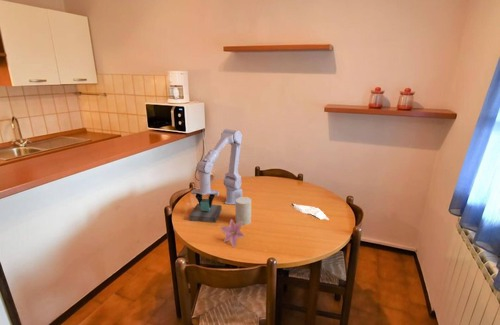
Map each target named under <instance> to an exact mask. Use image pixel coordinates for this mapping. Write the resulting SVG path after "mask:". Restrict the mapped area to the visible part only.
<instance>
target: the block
mask: <svg viewBox="0 0 500 325" xmlns="http://www.w3.org/2000/svg"><path fill="white" fill-rule="evenodd" d="M200 205H201V211H209V210H210V209H211V208H209V198H202V201H201V202H200Z"/></svg>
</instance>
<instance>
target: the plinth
mask: <svg viewBox="0 0 500 325" xmlns="http://www.w3.org/2000/svg"><path fill="white" fill-rule="evenodd" d="M222 211H223V210H222V204H221V205H220V204H219V205H218V204H212V206H211V209H210V210H209V211H201V207H200V205H199V203H196V205H195V206H194V208H193V209H192V211H191V212H190V214H189V215H188V216H189V218H188V219H189V221H191V222H202V223H203V222H204V223H215V224H216V222H217V220H218V219H219V216H220V214H221V212H222Z"/></svg>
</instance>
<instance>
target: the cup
mask: <svg viewBox="0 0 500 325" xmlns="http://www.w3.org/2000/svg"><path fill="white" fill-rule="evenodd" d="M241 221H243V224H242V226H247V225H249V224H251V223H252V198H250V197H248V196H242V197H239V198H237V199H236V204H235V224H236V223H238V222H241Z"/></svg>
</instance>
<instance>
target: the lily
mask: <svg viewBox="0 0 500 325" xmlns="http://www.w3.org/2000/svg"><path fill="white" fill-rule="evenodd" d="M242 224H243V221H241V222H238V223H236V222H234V220H233V219H232V218H231V219H230V222H229V225H226V226H225V225H223V226H221V227H220V230H221V231H222V232H223V233H224V234H225V237H224V240H223V242H224V243H227V242H228V241H229V242H230V244H231V246H232V247H233V248H236V245H237V241H238V238H239V239H240V238H245V236H246V235H245V234H243V232H242V231H241V229H242V227H243V225H242Z"/></svg>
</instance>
